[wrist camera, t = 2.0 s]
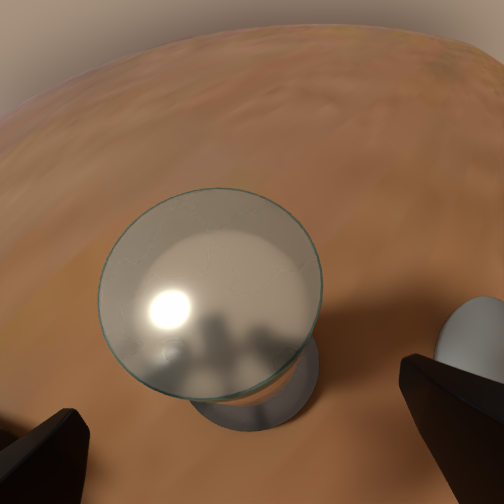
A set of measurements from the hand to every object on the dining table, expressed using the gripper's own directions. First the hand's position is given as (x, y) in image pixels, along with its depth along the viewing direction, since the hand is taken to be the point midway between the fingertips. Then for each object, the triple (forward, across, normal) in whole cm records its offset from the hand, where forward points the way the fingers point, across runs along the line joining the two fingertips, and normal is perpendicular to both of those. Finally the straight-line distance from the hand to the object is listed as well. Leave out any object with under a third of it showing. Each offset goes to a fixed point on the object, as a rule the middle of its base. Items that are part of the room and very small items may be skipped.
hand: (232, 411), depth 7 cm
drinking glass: (+7, 0, +3) cm, 8 cm away
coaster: (+6, -16, +8) cm, 19 cm away
